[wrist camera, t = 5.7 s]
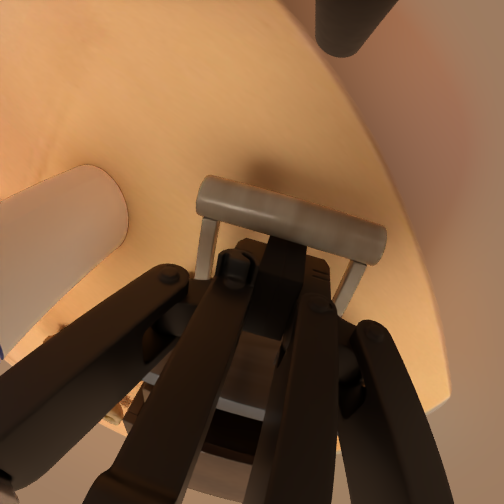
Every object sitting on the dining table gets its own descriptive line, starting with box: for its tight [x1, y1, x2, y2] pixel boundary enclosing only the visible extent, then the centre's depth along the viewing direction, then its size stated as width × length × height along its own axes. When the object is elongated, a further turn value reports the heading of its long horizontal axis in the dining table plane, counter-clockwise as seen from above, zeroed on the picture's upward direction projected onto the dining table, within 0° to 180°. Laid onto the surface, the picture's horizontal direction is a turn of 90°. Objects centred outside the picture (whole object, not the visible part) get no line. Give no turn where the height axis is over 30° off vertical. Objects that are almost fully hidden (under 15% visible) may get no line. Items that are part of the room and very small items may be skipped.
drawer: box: [142, 175, 387, 456], centre depth 17 cm, size 22×11×8 cm, turn 168°
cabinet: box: [122, 381, 255, 503], centre depth 22 cm, size 15×13×10 cm
